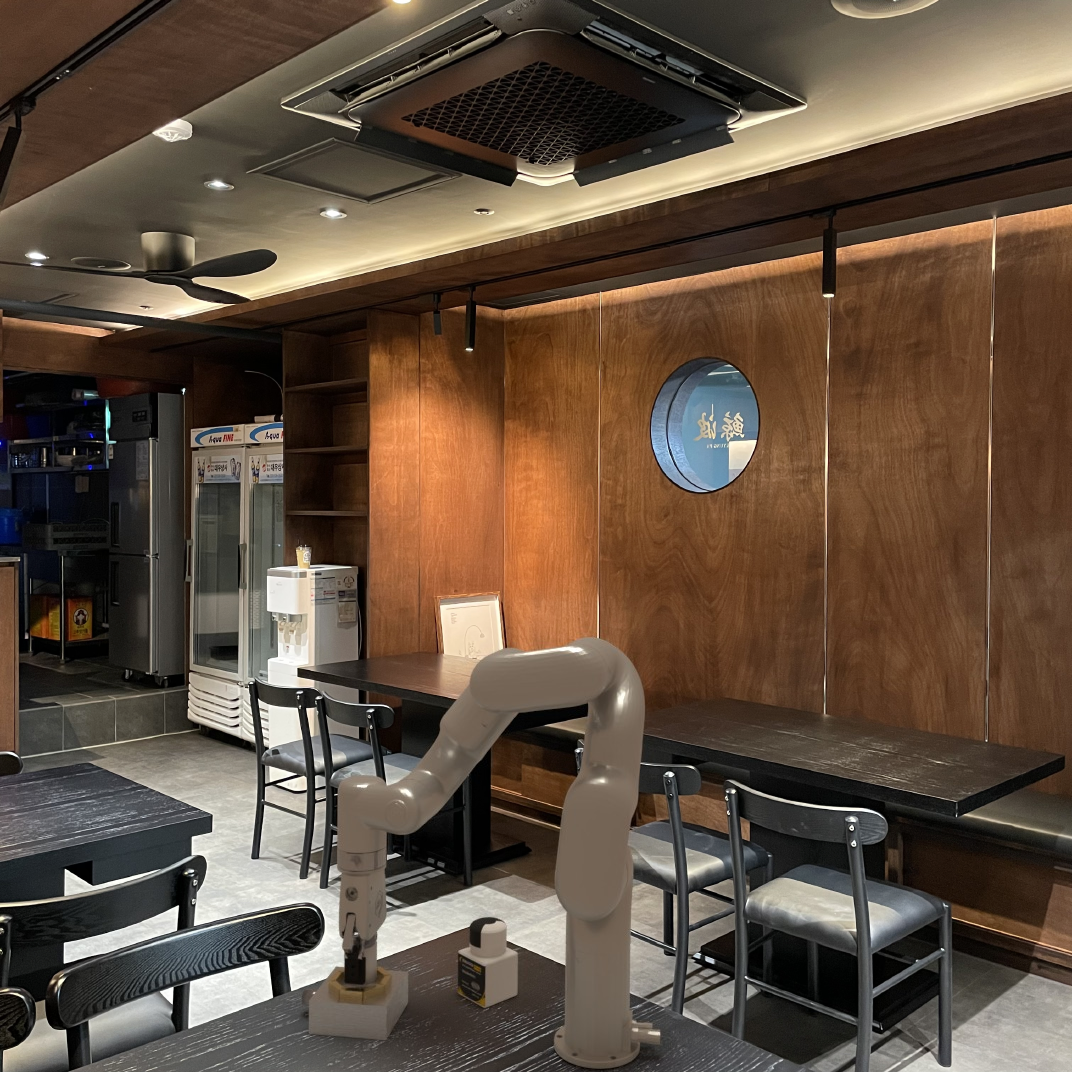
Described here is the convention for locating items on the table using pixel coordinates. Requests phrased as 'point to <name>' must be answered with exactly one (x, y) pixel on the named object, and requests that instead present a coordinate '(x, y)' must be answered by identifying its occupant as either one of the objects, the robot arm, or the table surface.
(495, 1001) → the medicine bottle
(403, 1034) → the table surface
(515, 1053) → the table surface
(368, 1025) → the block
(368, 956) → the short grey cylinder
